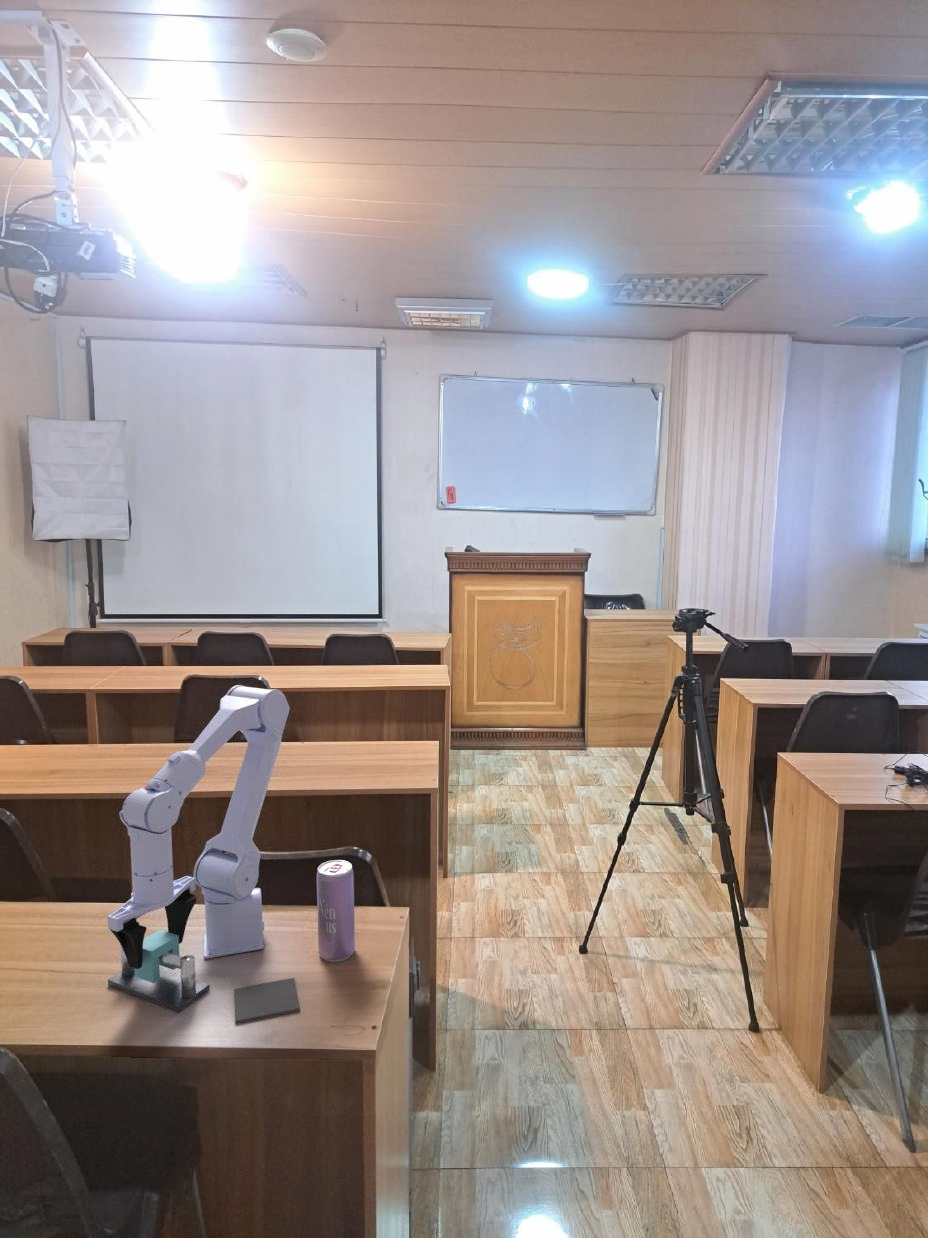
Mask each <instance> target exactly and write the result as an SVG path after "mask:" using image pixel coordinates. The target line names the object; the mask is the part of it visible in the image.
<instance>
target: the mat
mask: <svg viewBox="0 0 928 1238" xmlns="http://www.w3.org/2000/svg"><path fill="white" fill-rule="evenodd" d="M295 979H296V978H295V977H291V978H285V979H280V980H274V981H268V982H264V983H262V982H261V983H258V984H253V985H246V986H241V987H236V988H234V989H233V997H234V998H233V1000H234V1021H235V1022H234V1023H235V1025H238V1024H239V1025H240V1024H243V1023H244V1024H245V1023H249V1022H253V1021H259V1020H262V1019H267V1018H268V1019H269V1018H274V1017H278V1016H282V1015H289V1014H293V1013H298V1012H300V1009H301V1008H300V1004H299V1003H300V1002H299V998H298V991H297V985H296V980H295Z"/></svg>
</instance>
